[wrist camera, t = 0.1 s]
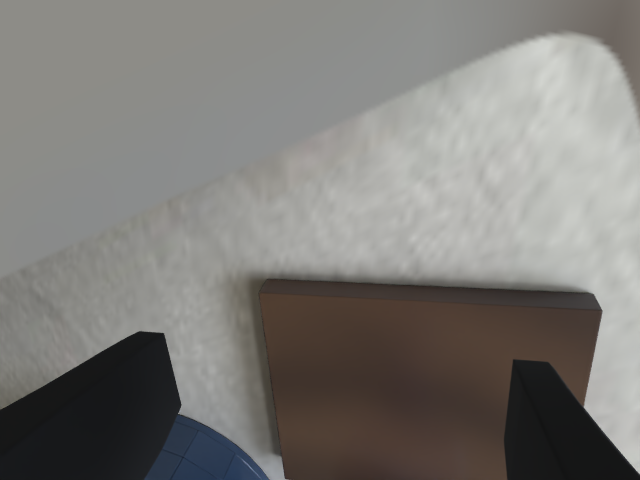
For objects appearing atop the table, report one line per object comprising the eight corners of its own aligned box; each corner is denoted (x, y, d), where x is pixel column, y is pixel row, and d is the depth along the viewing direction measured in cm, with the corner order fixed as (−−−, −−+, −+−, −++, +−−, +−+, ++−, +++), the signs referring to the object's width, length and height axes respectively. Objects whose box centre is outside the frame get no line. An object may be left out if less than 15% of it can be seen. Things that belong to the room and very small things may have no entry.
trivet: (556, 494, 23) (562, 517, 22) (290, 460, 26) (284, 479, 25) (593, 293, 19) (603, 310, 18) (266, 278, 22) (258, 292, 21)
